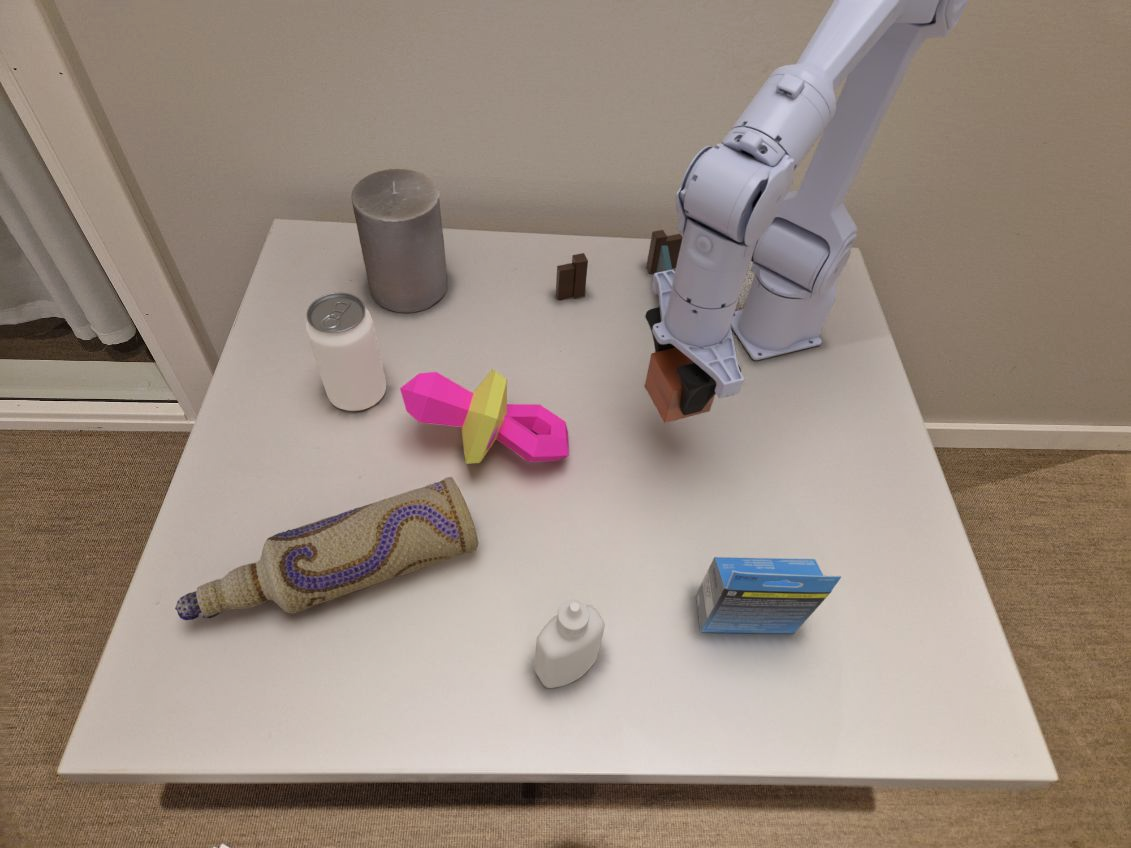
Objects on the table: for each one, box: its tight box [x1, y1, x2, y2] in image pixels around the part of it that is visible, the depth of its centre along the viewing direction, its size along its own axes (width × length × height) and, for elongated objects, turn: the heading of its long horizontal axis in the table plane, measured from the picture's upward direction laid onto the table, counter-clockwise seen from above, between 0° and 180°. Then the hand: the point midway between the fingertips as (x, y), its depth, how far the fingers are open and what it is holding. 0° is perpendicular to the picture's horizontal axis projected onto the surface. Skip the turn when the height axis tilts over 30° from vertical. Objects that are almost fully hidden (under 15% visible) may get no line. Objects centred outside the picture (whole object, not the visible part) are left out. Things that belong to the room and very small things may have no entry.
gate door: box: [656, 246, 673, 297], centre depth 89 cm, size 2×10×5 cm, turn 2°
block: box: [644, 347, 716, 424], centre depth 71 cm, size 5×5×5 cm
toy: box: [399, 368, 570, 465], centre depth 74 cm, size 10×18×10 cm, turn 82°
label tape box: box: [695, 556, 842, 634], centre depth 62 cm, size 9×4×12 cm, turn 90°
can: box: [305, 291, 387, 412], centre depth 76 cm, size 6×6×12 cm
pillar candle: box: [351, 168, 448, 314], centre depth 85 cm, size 10×10×15 cm
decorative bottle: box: [174, 476, 479, 621], centre depth 65 cm, size 26×8×7 cm, turn 113°
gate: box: [555, 229, 683, 301], centre depth 92 cm, size 2×17×6 cm, turn 117°
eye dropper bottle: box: [534, 599, 606, 689], centre depth 59 cm, size 4×6×12 cm
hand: (679, 389), depth 72 cm, fingers closed on block, 5 cm apart
